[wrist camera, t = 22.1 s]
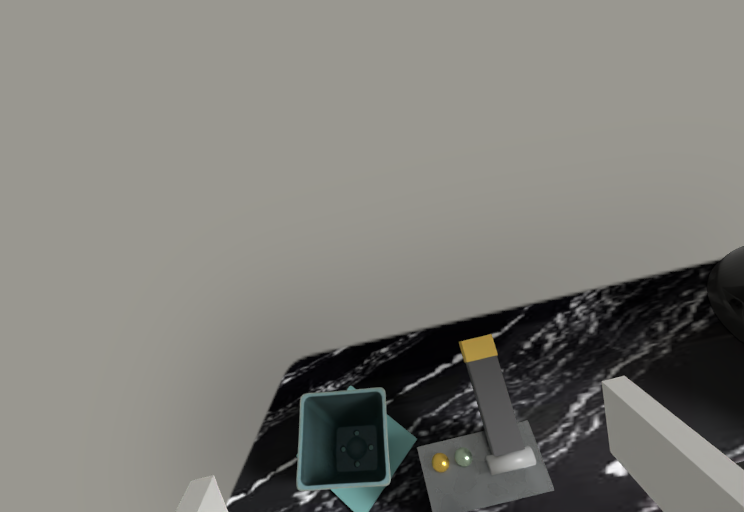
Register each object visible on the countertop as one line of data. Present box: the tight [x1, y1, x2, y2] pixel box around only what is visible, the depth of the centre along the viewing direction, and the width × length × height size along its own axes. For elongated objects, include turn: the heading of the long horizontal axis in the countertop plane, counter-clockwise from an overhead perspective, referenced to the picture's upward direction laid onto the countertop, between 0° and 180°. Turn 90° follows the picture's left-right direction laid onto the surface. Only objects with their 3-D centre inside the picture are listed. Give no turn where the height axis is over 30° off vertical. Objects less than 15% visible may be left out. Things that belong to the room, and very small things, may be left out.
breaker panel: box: [417, 420, 554, 512], centre depth 41 cm, size 6×11×9 cm, turn 102°
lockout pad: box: [296, 386, 417, 512], centre depth 48 cm, size 10×10×1 cm
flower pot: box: [296, 387, 391, 491], centre depth 44 cm, size 9×9×9 cm
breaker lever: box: [459, 334, 536, 475], centre depth 39 cm, size 2×4×12 cm
